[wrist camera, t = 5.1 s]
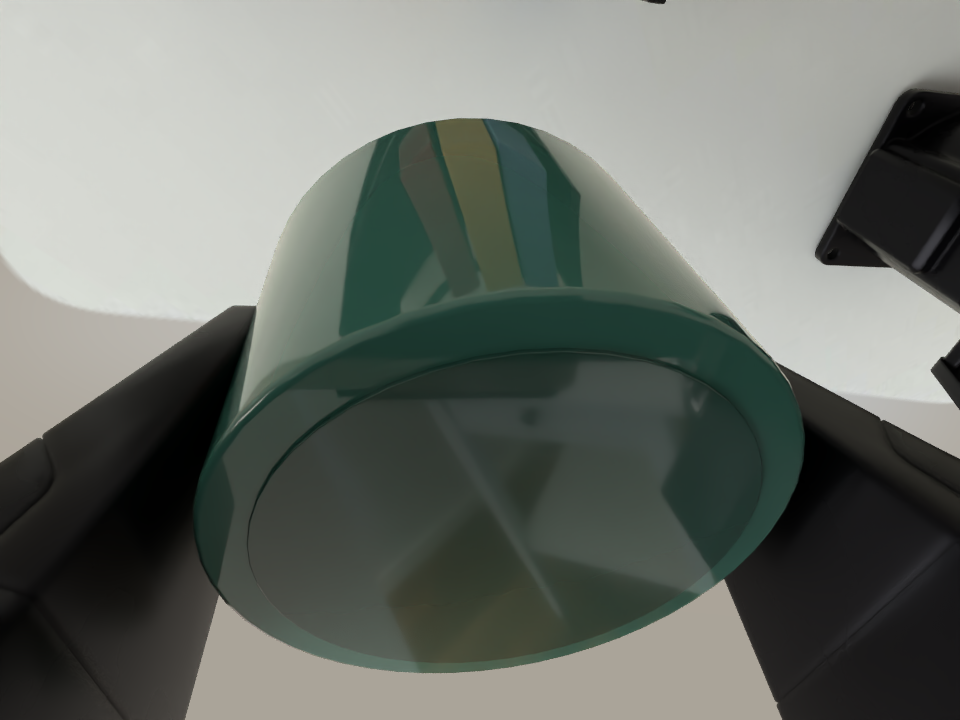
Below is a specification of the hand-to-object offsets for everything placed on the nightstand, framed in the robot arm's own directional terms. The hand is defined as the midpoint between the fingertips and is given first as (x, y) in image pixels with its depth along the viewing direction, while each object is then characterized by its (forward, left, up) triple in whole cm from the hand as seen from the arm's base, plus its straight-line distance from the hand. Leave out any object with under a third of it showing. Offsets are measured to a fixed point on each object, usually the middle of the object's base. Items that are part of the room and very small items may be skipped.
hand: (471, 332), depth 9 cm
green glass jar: (0, 0, -1) cm, 1 cm away
